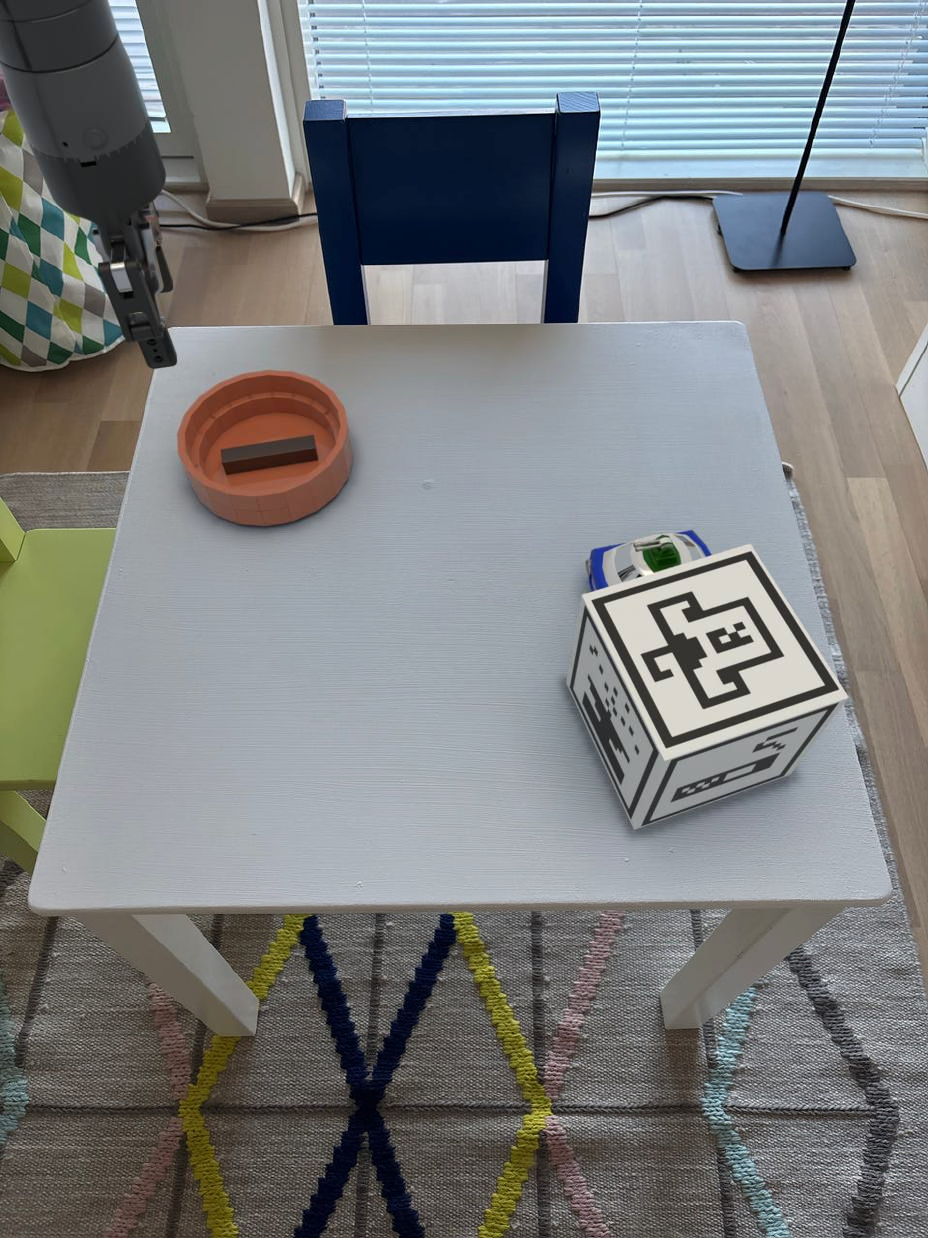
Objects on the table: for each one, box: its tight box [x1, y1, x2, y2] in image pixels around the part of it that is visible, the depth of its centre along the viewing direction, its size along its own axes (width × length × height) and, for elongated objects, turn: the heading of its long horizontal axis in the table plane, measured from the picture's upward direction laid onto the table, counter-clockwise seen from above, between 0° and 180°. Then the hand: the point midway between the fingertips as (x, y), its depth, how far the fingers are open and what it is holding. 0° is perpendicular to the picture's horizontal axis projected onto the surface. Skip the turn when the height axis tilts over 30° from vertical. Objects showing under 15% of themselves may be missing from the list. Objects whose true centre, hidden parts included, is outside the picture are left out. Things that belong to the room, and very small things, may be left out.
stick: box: [221, 435, 318, 475], centre depth 99 cm, size 2×10×2 cm, turn 102°
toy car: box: [584, 529, 713, 592], centre depth 86 cm, size 9×12×10 cm
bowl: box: [176, 369, 354, 527], centre depth 98 cm, size 18×18×6 cm
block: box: [565, 543, 850, 831], centre depth 76 cm, size 15×15×15 cm
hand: (162, 326), depth 70 cm, fingers open, 8 cm apart
